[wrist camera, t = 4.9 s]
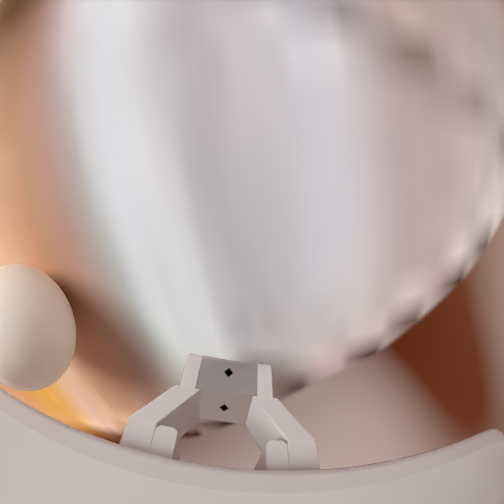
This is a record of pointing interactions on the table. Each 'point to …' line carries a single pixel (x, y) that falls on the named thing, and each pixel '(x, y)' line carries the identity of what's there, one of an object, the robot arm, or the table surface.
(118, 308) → the table surface
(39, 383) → the white ball
